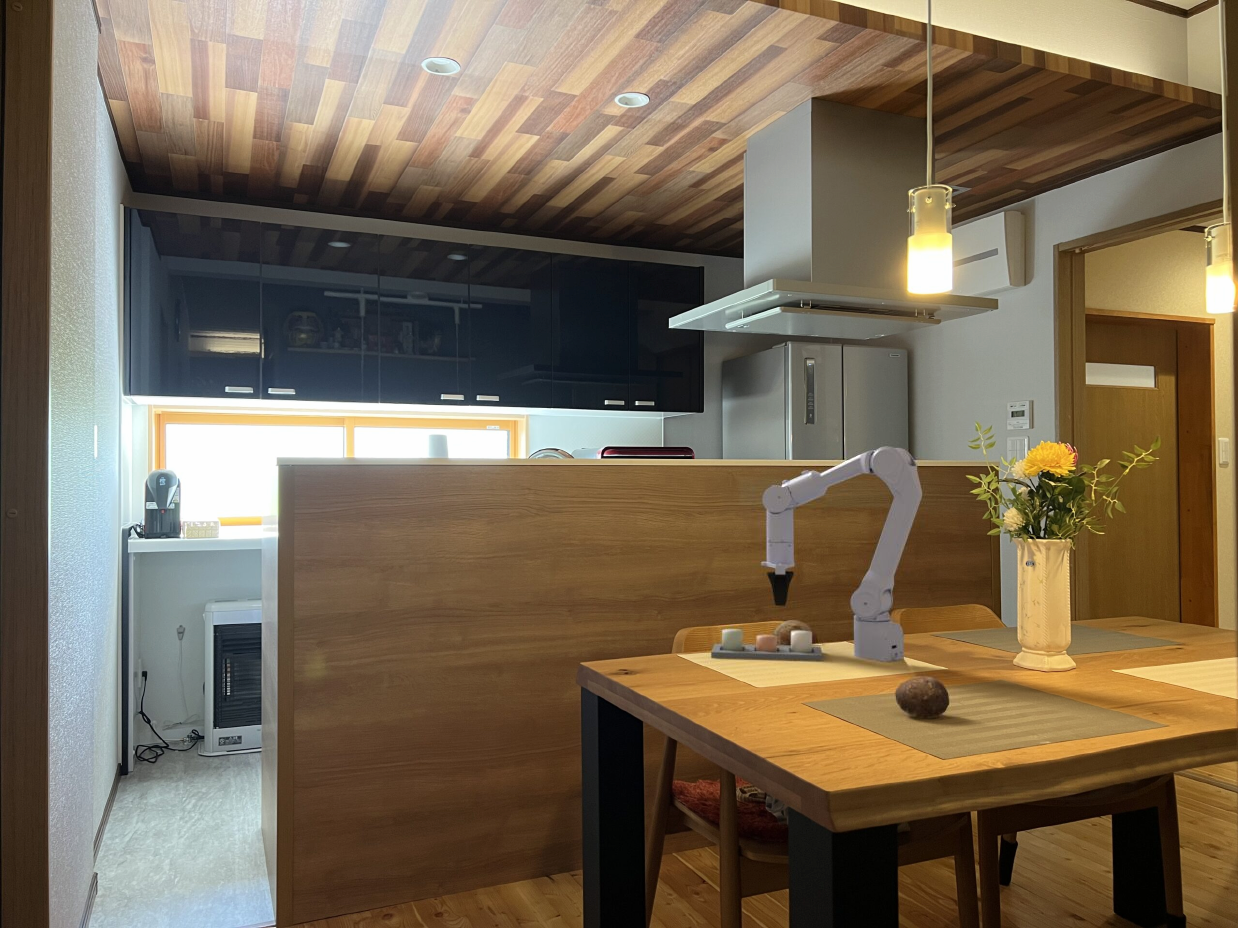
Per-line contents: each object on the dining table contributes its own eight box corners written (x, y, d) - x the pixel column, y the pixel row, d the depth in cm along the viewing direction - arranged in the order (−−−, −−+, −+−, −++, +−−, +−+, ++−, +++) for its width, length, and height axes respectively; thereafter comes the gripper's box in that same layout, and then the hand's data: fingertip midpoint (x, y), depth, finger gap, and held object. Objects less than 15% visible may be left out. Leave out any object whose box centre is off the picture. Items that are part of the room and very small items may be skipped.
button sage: (743, 652, 195) (742, 629, 195) (742, 655, 191) (742, 632, 191) (722, 651, 196) (722, 628, 196) (721, 655, 192) (721, 631, 192)
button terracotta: (777, 658, 194) (777, 634, 194) (777, 661, 190) (777, 638, 190) (756, 657, 195) (756, 634, 195) (756, 661, 191) (756, 637, 191)
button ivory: (811, 654, 193) (811, 630, 193) (812, 657, 189) (812, 633, 189) (790, 653, 194) (790, 630, 194) (791, 657, 190) (791, 633, 190)
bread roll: (770, 661, 212) (757, 630, 211) (803, 639, 216) (791, 608, 215) (796, 669, 203) (782, 636, 202) (830, 645, 207) (817, 613, 206)
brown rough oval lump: (910, 684, 155) (914, 658, 151) (955, 710, 150) (960, 683, 146) (884, 714, 150) (887, 688, 147) (929, 741, 145) (934, 715, 142)
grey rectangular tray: (820, 658, 195) (820, 646, 196) (822, 667, 186) (822, 655, 186) (714, 655, 199) (714, 643, 199) (711, 664, 189) (711, 652, 189)
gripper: (761, 539, 209) (762, 600, 209) (760, 543, 195) (760, 609, 195) (794, 539, 208) (794, 601, 208) (795, 544, 194) (795, 609, 194)
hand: (780, 605), depth 201 cm, fingers closed
